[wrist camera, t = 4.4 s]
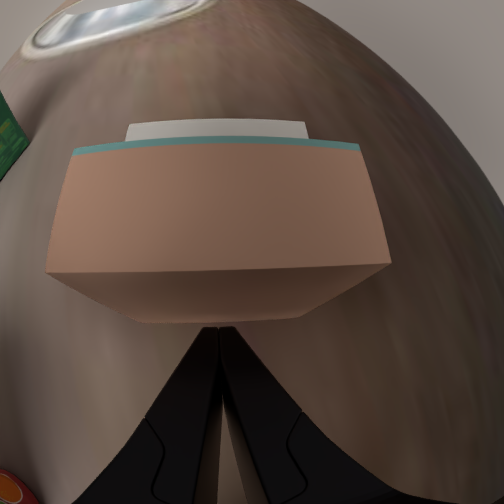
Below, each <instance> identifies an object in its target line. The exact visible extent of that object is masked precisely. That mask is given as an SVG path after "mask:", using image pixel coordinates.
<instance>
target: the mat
mask: <svg viewBox="0 0 504 504" xmlns="http://www.w3.org/2000/svg"><path fill="white" fill-rule="evenodd" d="M193 136H268V137H289V138H304V139H309V138H308V134H307V130H306V126H305V122H298V121H284V120H266V119H189V120H171V121H158V122H146V123H137V124H129V128H128V131H127V135H126V139H125V141H135V140H145V139H158V138H172V137H193Z"/></svg>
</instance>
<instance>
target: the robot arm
mask: <svg viewBox="0 0 504 504" xmlns="http://www.w3.org/2000/svg"><path fill="white" fill-rule="evenodd" d="M221 381H222V382H221ZM222 394H223V398H222ZM223 404H224V409H225V414H226V419H227V423H228V428H229V432H230V436H231V440H232V445H233V449H234V453H235V457H236V461H237V465H238V469H239V472H240V476H241V480H242V484H243V487H244V491H245V495H246V498H247V502H248V504H457V503H449V502H443V501H437V500H431V499H426V498H421V497H416V496H412V495H408V494H405V493H403V492H400V491H398V490H396V489H394V488H392V487H390V486H388V485H387V484H385V483H384V482H382V481H381V480H380V479H378V478H377V477H376V476H374V475H373V474H372V473H370V472H369V471H368V470H366V469H365V468H364V467H362V466H361V465H360V464H359V463H357V462H356V461H355V460H354V459H352V458H351V457H350V456H349V455H347V454H346V453H345V452H344V451H342V450H341V449H340V448H339V447H338V446H337V445H336V444H334V443H333V442H332V441H331V440H330V439H329V438H328V437H327V436H326V435H325V434H324V433H323V432H322V431H321V430H320V429H319V428H318V427H317V426H316V425H315V424H314V423H313V422H312V421H311V419H310V418H309V417H308V416H307V415H306V414H305V413H304V412H302V409H301V408H300V407H299V406H298V405H297V404H296V402H295V401H294V400H293V399H292V398H291V396H290V395H289V394H288V393H287V392H286V391H285V389H284V388H283V387H282V386H281V385H280V383H279V382H278V381H277V380H276V378H275V377H274V376H273V375H272V374H271V372H270V371H269V370H268V369H267V367H266V366H265V365H264V364H263V363H262V361H261V360H260V359H259V358H258V356H257V355H256V354H255V352H254V351H253V350H252V349H251V347H250V346H249V345H248V344H247V342H246V341H245V340H244V338H243V337H242V336H241V335H240V333H239V332H238V331H237V329H236V328H235V327H233V326H226V327H219V331H218V328H217V327H203V328H202V329H201V331H200V332H199V334H198V335H197V337H196V338H195V340H194V341H193V343H192V344H191V346H190V347H189V349H188V350H187V352H186V354H185V355H184V357H183V358H182V360H181V361H180V363H179V364H178V366H177V367H176V369H175V370H174V372H173V373H172V375H171V376H170V378H169V380H168V381H167V383H166V384H165V386H164V387H163V389H162V390H161V392H160V393H159V395H158V396H157V398H156V399H155V401H154V402H153V404H152V406H151V407H150V409H149V410H148V412H147V413H146V415H145V418H143V419H142V421H141V422H140V424H139V425H138V427H137V428H136V430H135V431H134V433H133V434H132V435H131V437H130V438H129V440H128V441H127V442H126V444H125V445H124V447H123V448H122V449H121V450H120V451H119V453H118V454H117V455H116V456H115V457H114V459H113V460H112V461H111V462H110V463H109V464H108V466H107V467H106V468H105V469H104V470H103V471H102V472H101V473H100V474H99V476H98V477H97V478H96V479H95V480H94V481H93V482H92V483H91V484H90V485H89V487H88V488H87V489H86V490H85V491H84V492H83V493H82V494H81V495H80V496H79V497H78V498H77V499H76V500H75V501H74V502H73V503H72V504H217V493H218V474H219V457H220V441H221V426H222V410H223ZM492 504H504V496H503V497H502V498H500V499H499V500H497V501H495V502H494V503H492Z"/></svg>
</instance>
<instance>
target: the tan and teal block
mask: <svg viewBox="0 0 504 504" xmlns="http://www.w3.org/2000/svg"><path fill="white" fill-rule="evenodd" d="M389 264H391V258H390V254H389V249H388V245H387V240H386V236H385V232H384V228H383V224H382V220H381V216H380V212H379V209H378V205H377V201H376V198H375V194H374V191H373V188H372V184H371V181H370V178H369V175H368V171H367V168H366V165H365V162H364V159H363V156H362V153H361V151H360V148H359V145H358V144H354V143H346V142H337V141H327V140H316V139H304V138H289V137H268V136H193V137H172V138H158V139H145V140H135V141H125V142H117V143H109V144H101V145H94V146H87V147H81V148H75V149H74V152H73V154H72V157H71V160H70V163H69V167H68V170H67V173H66V176H65V180H64V183H63V187H62V190H61V194H60V198H59V202H58V206H57V210H56V214H55V218H54V223H53V228H52V233H51V238H50V243H49V249H48V255H47V261H46V268H45V273H46V274H48V275H50V276H52V277H53V278H55V279H57V280H58V281H60V282H62V283H64V284H65V285H67V286H69V287H71V288H73V289H74V290H76V291H78V292H80V293H82V294H84V295H85V296H87V297H89V298H91V299H93V300H95V301H97V302H99V303H101V304H103V305H105V306H107V307H109V308H111V309H113V310H115V311H117V312H119V313H121V314H123V315H125V316H127V317H129V318H132V319H134V320H136V321H138V322H140V323H209V322H237V321H257V320H274V319H288V318H298V317H300V316H302V315H304V314H306V313H308V312H309V311H311V310H313V309H315V308H317V307H319V306H320V305H322V304H324V303H326V302H327V301H329V300H331V299H333V298H334V297H336V296H338V295H340V294H341V293H343V292H345V291H347V290H348V289H350V288H352V287H353V286H355V285H357V284H358V283H360V282H362V281H363V280H365V279H367V278H368V277H370V276H372V275H373V274H375V273H376V272H378V271H380V270H381V269H383V268H384V267H386V266H388V265H389Z"/></svg>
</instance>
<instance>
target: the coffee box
mask: <svg viewBox="0 0 504 504" xmlns="http://www.w3.org/2000/svg"><path fill="white" fill-rule="evenodd" d="M29 144H30V142H29V140H28V138H27V137H26V135H25V133H24V132H23V130H22V129H21V127H20V125H19V124H18V122H17V121H16V119H15V117H14V115H13V113H12V111H11V110H10V108H9V106H8V104H7V103H6V101H5V99H4V97H3V95H2V93H1V91H0V180H1V179H2V177H3V176H4V175H5V173H6V172H7V170H8V169H9V168H10V167H11V165H12V164H13V163H14V162H15V161H16V160H17V159H18V157H19V156H20V155H21V153H22V152H23V150H24V149H25V148H26V147H27V146H28V145H29Z"/></svg>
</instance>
